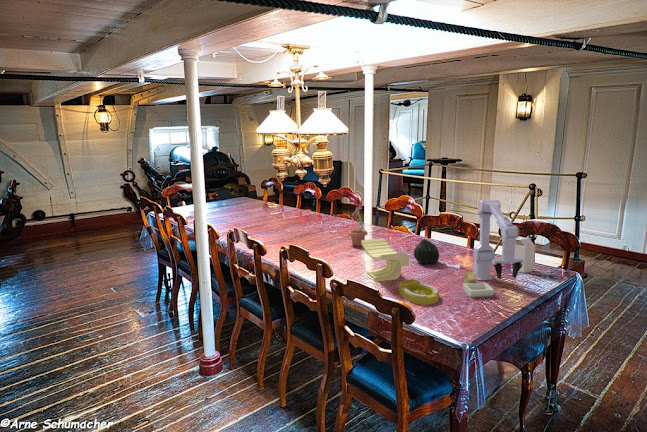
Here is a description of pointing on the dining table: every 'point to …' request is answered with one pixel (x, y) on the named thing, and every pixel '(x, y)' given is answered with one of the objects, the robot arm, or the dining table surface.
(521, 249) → the milk carton
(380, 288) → the dining table surface
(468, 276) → the tea tin
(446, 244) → the dining table surface
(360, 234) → the decorative flower
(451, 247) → the dining table surface
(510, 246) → the robot arm
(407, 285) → the ashtray
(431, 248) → the squash
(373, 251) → the slatted curved stool
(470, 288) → the tote
